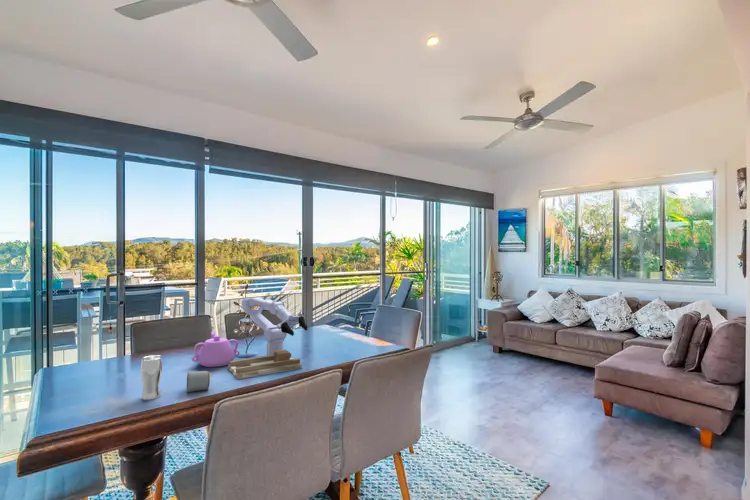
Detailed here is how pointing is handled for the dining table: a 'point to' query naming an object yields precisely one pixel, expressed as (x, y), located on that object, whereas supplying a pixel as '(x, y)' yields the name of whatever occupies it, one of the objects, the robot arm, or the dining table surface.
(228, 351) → the purple sugar bowl
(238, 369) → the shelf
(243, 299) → the robot arm
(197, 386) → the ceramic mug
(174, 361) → the dining table surface
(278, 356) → the walnut block
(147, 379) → the beer glass
